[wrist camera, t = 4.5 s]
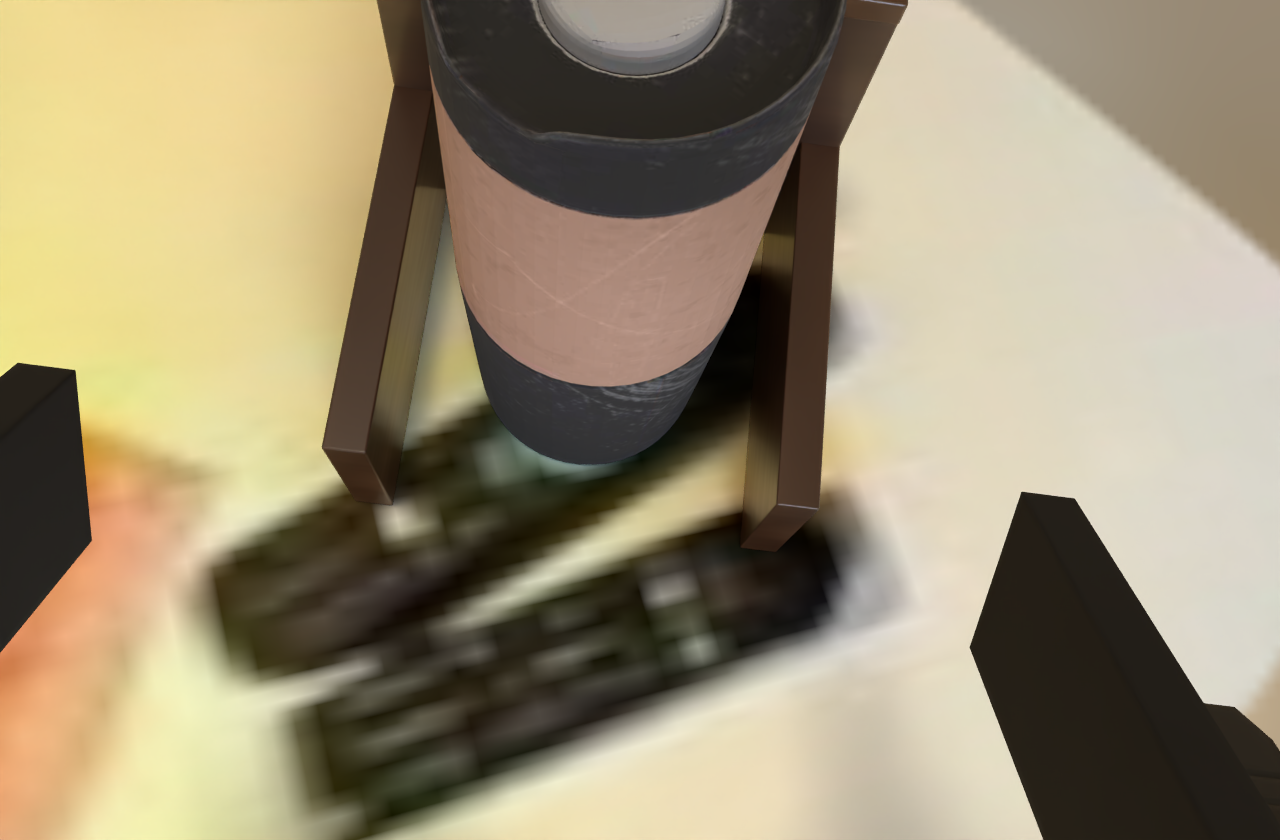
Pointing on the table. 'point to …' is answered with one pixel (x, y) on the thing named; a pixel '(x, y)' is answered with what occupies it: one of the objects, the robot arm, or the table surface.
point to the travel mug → (613, 193)
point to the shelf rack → (788, 303)
